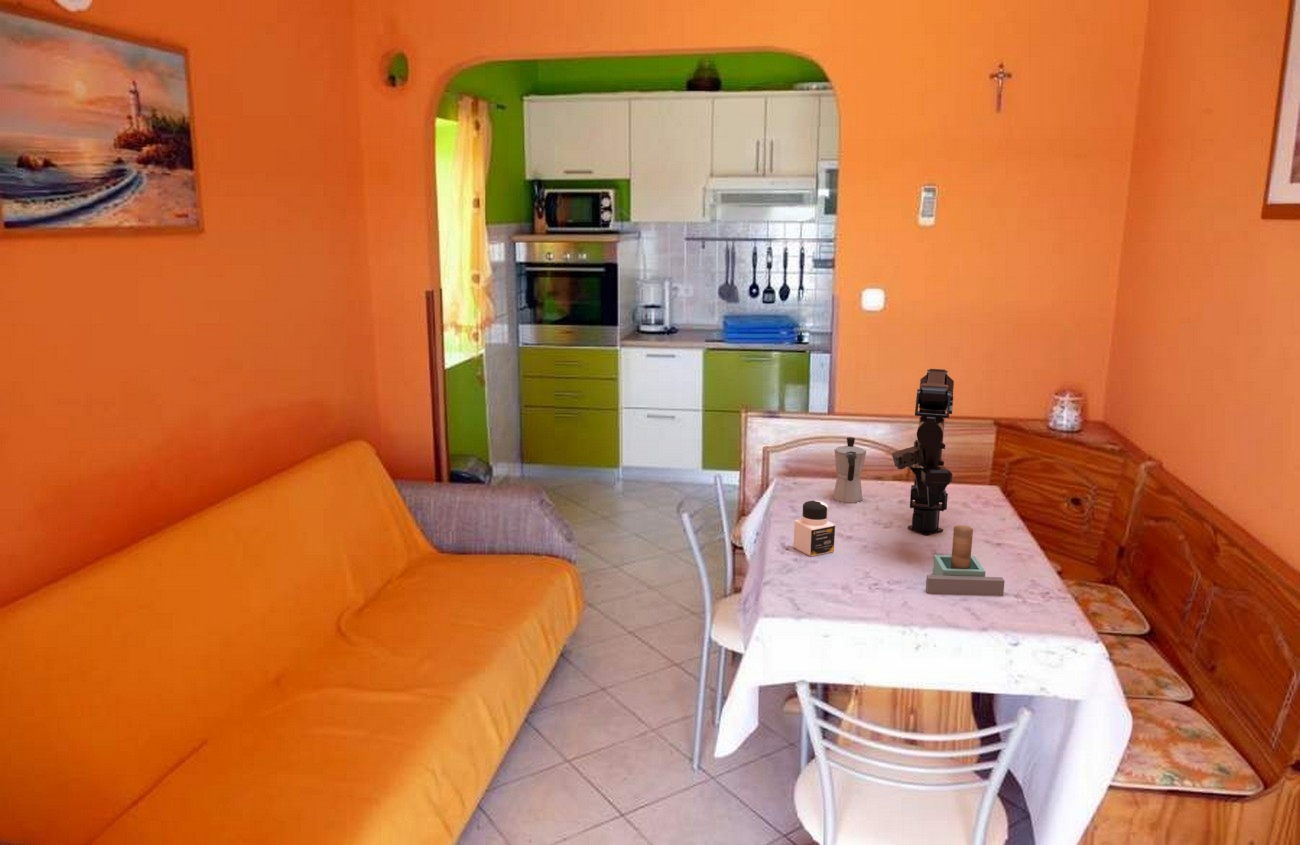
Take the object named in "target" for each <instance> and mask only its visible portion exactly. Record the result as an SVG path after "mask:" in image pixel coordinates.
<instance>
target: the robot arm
mask: <svg viewBox="0 0 1300 845" xmlns="http://www.w3.org/2000/svg"><path fill="white" fill-rule="evenodd" d="M948 372H949V371H948V370H946V369H944V368H943V369H942V368H930V369H927V370H926V375H923V376H922V378H920V380H919V381H920V382H919V389H917V390H916V400H915V410H914V416H915V417H919V419H918V420H919V421H918V427H917V429H916V439H915V441H914V443H913V446H911V447H906V448H904V449H900V450H896V451H894V452H892V453H891V457H892V460H893V462H894V467H896V469H898V470H903V469H906V468H907V467H908V469H909V470H910V471H911V472H912V473H913V475H914V480H913V481H914V483H913V484H911V486H910V500H909V508H910V509H913V512H912V515H911V516H912V518H911V519H912V520H911V525H908V526H907V529H909V530H911V531H913V532H916V533H918V534H921V535H922V536H923V535H924V536H929V535H933V534H938V533H941V532H944V529H943V528H940V527H939V525H940V513H941V512H944V511H947V509H948V508H947V507H948V499H949V498H948V497H949V496H948V495H949V493H947V491H946V488H947V487H948V486H949V485H950V483H952V482H953V473H952V472H951V470H949V469H948V468H947V467H946V466H945V461H944V460H943V458H942V457H943V450H946V444H945V443H944V434H945V423H946V421H945V419H949V418H950V415H953V407H954V406H953V405H954V404H953V403H954V386H955V380H953V379H952V378H951V377H950V376H949V375H948Z"/></svg>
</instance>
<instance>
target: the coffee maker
mask: <svg viewBox="0 0 1300 845" xmlns="http://www.w3.org/2000/svg"><path fill="white" fill-rule="evenodd" d="M855 441H856V438H855V437H852V436H849V437H846V443H847V445H842V446H838V447H836V448H835V449H834V458H835V459H834V460H835V470H836V472H837V477H836V482H835V485H834V492H833V495H832V498H834V499H833V501H835V500H837V501H836V502H838V501H839V502H838V503H841V502H843V503H842V504H852V503H855V504H858V503H857V502H859V503H862V502H863V491H862V480H861V474H862V473H863V469H864V464H865V459H866V454H867V450H865V449H864V448H862V447H860V446H855ZM861 501H862V502H861Z"/></svg>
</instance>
